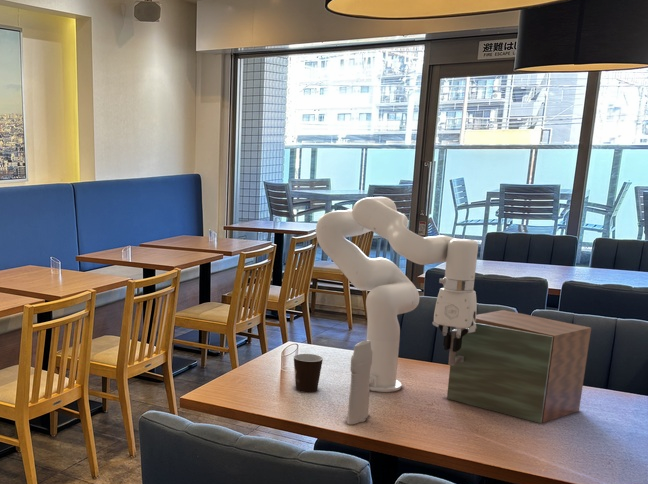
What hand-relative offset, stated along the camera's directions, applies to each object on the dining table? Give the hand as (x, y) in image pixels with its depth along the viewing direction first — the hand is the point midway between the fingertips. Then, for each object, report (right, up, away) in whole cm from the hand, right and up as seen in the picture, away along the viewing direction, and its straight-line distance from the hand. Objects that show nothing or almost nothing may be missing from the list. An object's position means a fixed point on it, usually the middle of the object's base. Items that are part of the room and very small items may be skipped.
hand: (451, 349), depth 200 cm
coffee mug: (-35, -13, +21) cm, 43 cm away
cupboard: (+22, -16, +7) cm, 27 cm away
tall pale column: (-28, -19, -5) cm, 34 cm away
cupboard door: (+9, -17, -1) cm, 20 cm away
